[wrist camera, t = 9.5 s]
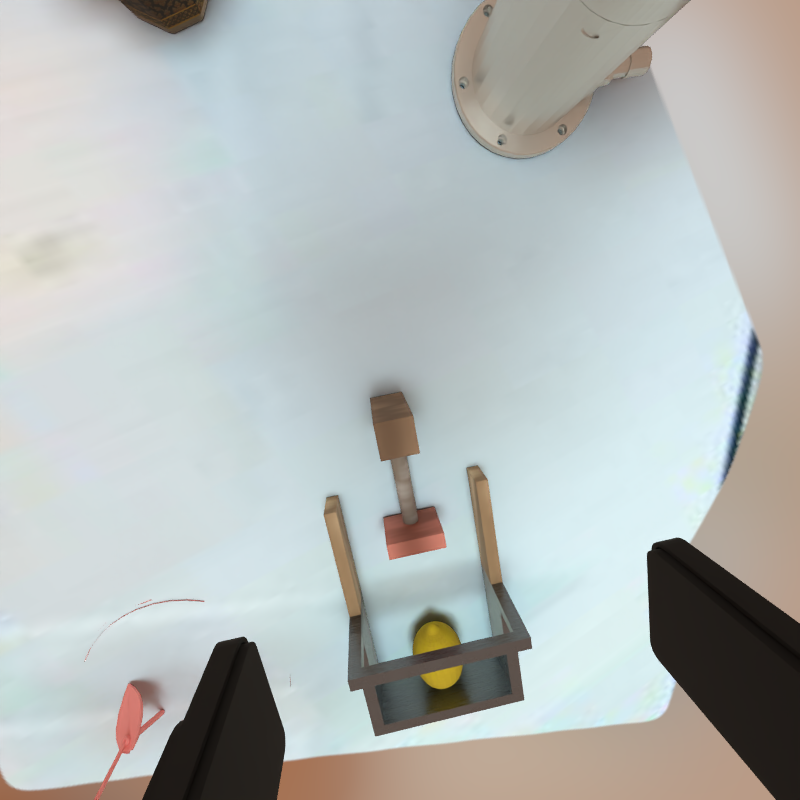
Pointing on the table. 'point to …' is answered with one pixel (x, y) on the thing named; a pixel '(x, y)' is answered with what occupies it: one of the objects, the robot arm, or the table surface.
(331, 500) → the lane
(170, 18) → the ceramic cup
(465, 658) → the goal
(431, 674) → the lemon
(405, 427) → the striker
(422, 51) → the table surface
